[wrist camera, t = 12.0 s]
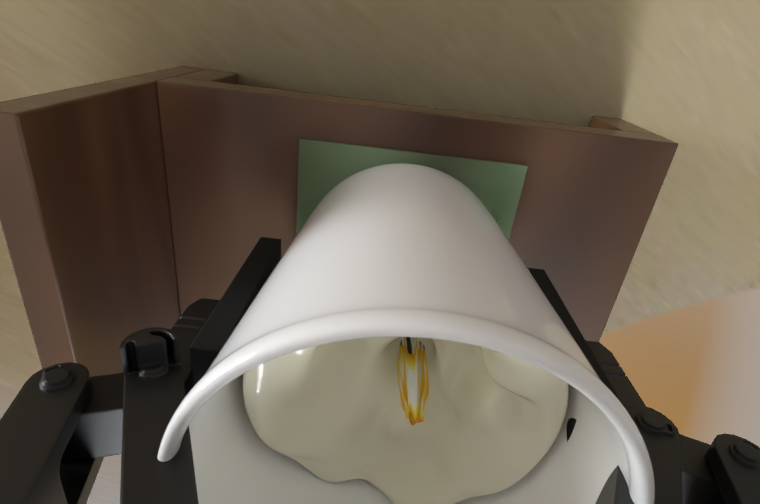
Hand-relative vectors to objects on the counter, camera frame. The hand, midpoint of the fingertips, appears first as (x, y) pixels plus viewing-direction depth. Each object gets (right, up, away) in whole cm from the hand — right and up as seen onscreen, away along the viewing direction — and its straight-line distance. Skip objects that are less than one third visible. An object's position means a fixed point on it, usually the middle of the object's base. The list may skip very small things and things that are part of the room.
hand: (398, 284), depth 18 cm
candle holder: (0, +1, +2) cm, 3 cm away
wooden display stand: (0, +3, +7) cm, 8 cm away
